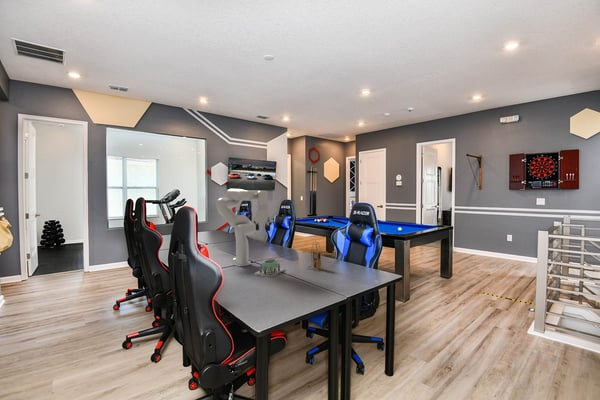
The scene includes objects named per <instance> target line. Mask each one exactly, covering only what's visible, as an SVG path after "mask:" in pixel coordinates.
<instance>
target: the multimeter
mask: <svg viewBox="0 0 600 400" xmlns="http://www.w3.org/2000/svg"><path fill="white" fill-rule="evenodd" d="M313 243H315V246H316V247H315V250H313V249H312V250H311V253H310V254H311V258H312V265H310V266H309V268H310V267H312V270H313V271H315V272H317V271H321V272H323V270H324V267H323V265H322V261H321V260H322V258H321V257H322V255H321V253H322V252H321V250H318V247H319V248H321V246H320V242H317V241H313ZM313 247H314V245H312V246H311V248H313ZM315 269H316V270H315ZM321 269H322V270H321Z"/></svg>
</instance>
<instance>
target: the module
mask: <svg viewBox="0 0 600 400" xmlns="http://www.w3.org/2000/svg"><path fill="white" fill-rule="evenodd" d="M261 265H262V270H263V267H265V271H271V267H273V269H274V268H276V267H277V268H278V259H275V258H269V259H266V260H264V261H263V262H261Z"/></svg>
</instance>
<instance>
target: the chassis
mask: <svg viewBox="0 0 600 400" xmlns="http://www.w3.org/2000/svg"><path fill="white" fill-rule="evenodd" d="M285 270H286V268H282V267H281V263H278V267H276V268H274V269H273V267H271V271H265V267H263V270H262V264H261V265H259V270H258V271H256V272H254V275H255V276H261V277H269V278H273V277H275V276H277V275H280V273H282V272H285Z"/></svg>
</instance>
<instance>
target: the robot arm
mask: <svg viewBox="0 0 600 400" xmlns="http://www.w3.org/2000/svg"><path fill="white" fill-rule="evenodd" d="M225 195H226V197H220V198H219V199H217V200H216V202H215V207H216V210H217V212H218V214H220V215H221V216H222V217H223V218H224V219H225V221H226V222H227V223H228V225H230V226H231V227H232V228H234V231H233V232H234V236H235V257H234V258H233V259H232V261H233V262H234V264H233V265H234V266H236V267H245V266H246V267H247V266H250V265H251V264H252V263H251V261H249V260H250V259H249V240H248V237H247V236H252V235H254V234H255V233H256V231H259V230H260V224H266V231H267V232H269V231H271V226H272V224H273V222H274V219H272V217H270V209H269V205H268V204H269V201H268V200H269V199H268V198H269V192H268V190H254V189H253V190H245V189H243V188H229V189H227V190H226V193H225ZM241 201H247V202H248V201H249V202H250V201H251V202H252V201H257V204H256V208H257V209H256V210H255V217H254V218H252V221H253V222H252V221H251V220H250V218H248V217H247V215H244V214H236V213H235V211H233V210H231V209H232V208H235V207H237V206H238V204H239V203H240V202H241Z"/></svg>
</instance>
